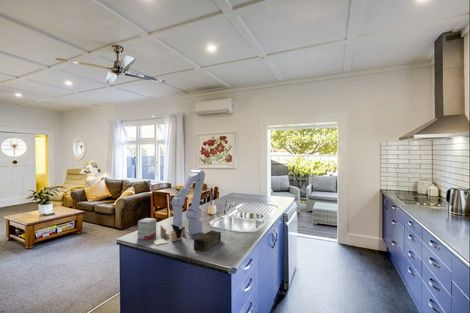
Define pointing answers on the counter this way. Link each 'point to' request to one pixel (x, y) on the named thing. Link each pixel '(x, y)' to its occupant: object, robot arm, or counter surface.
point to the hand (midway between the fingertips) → (177, 236)
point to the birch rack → (165, 233)
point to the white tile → (160, 242)
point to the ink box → (146, 228)
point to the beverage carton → (207, 240)
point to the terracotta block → (173, 236)
